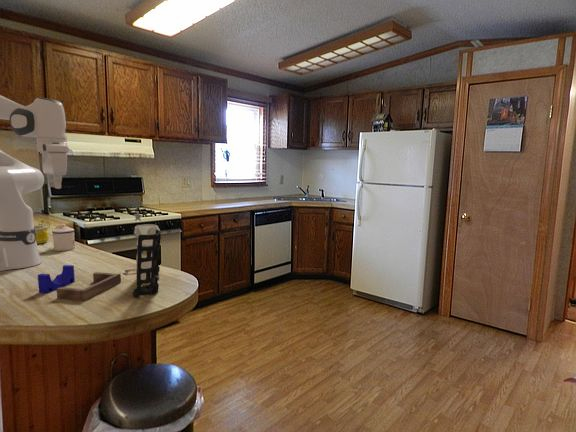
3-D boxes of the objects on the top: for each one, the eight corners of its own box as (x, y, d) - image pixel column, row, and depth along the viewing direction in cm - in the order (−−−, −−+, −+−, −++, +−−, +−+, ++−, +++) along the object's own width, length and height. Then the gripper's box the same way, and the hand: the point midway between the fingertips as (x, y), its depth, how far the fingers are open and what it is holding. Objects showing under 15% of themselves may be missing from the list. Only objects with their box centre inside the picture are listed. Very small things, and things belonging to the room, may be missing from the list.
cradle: (57, 298, 117) (56, 288, 116) (96, 280, 134) (95, 272, 134) (84, 300, 115) (84, 291, 115) (120, 282, 133) (120, 273, 132)
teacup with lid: (79, 248, 180) (77, 224, 179) (57, 252, 173) (56, 226, 172) (68, 245, 188) (67, 221, 186) (47, 248, 181) (46, 223, 179)
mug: (17, 244, 188) (15, 220, 186) (37, 240, 198) (35, 217, 196) (37, 246, 184) (35, 221, 182) (57, 242, 194) (55, 218, 193)
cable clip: (63, 281, 133) (62, 264, 133) (74, 282, 133) (73, 265, 132) (35, 292, 122) (33, 274, 121) (47, 293, 121) (45, 275, 120)
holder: (139, 285, 129) (142, 227, 126) (162, 287, 129) (166, 229, 126) (128, 297, 118) (132, 234, 115) (153, 299, 118) (157, 237, 115)
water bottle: (159, 282, 133) (156, 211, 129) (133, 283, 132) (130, 211, 128) (162, 275, 141) (160, 208, 137) (138, 276, 140) (135, 208, 136)
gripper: (36, 147, 136) (39, 186, 138) (47, 146, 121) (50, 189, 123) (56, 147, 140) (59, 185, 142) (69, 147, 125) (72, 189, 127)
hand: (55, 187), depth 132 cm, fingers open, 8 cm apart
